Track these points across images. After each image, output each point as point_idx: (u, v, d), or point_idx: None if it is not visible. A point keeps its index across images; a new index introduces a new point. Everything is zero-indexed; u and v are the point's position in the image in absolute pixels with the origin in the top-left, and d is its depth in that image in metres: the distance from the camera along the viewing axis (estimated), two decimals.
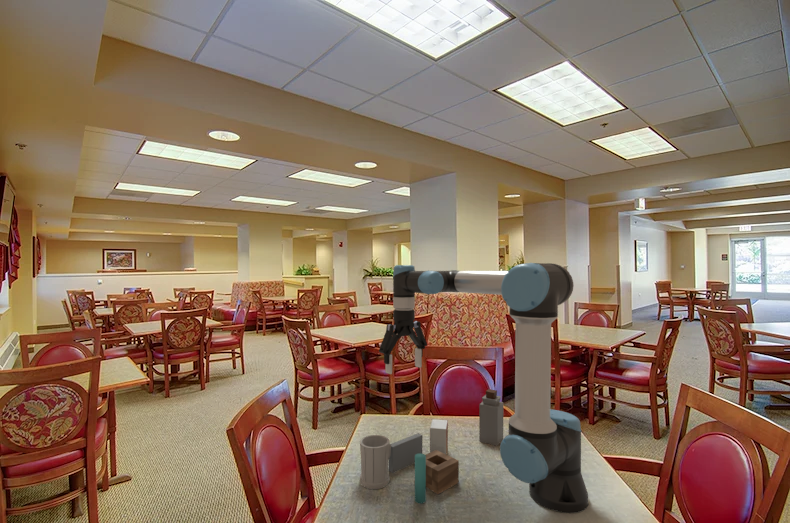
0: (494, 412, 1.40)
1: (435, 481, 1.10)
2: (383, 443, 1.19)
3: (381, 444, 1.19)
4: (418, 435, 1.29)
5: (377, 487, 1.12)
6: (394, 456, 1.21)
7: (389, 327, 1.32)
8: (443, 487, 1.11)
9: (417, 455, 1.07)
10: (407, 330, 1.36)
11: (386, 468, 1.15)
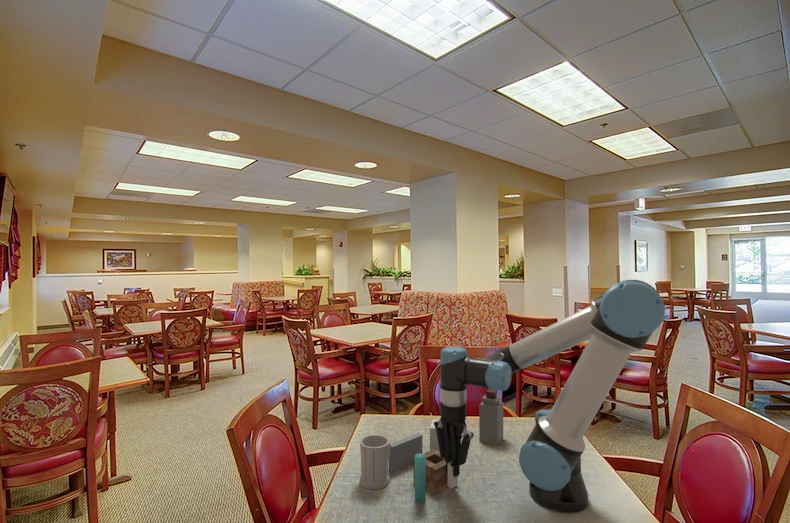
0: (494, 412, 1.40)
1: (433, 480, 1.11)
2: (383, 443, 1.19)
3: (381, 444, 1.19)
4: (418, 435, 1.29)
5: (377, 487, 1.12)
6: (394, 456, 1.21)
7: None
8: (441, 486, 1.12)
9: (417, 455, 1.07)
10: None
11: (386, 468, 1.15)
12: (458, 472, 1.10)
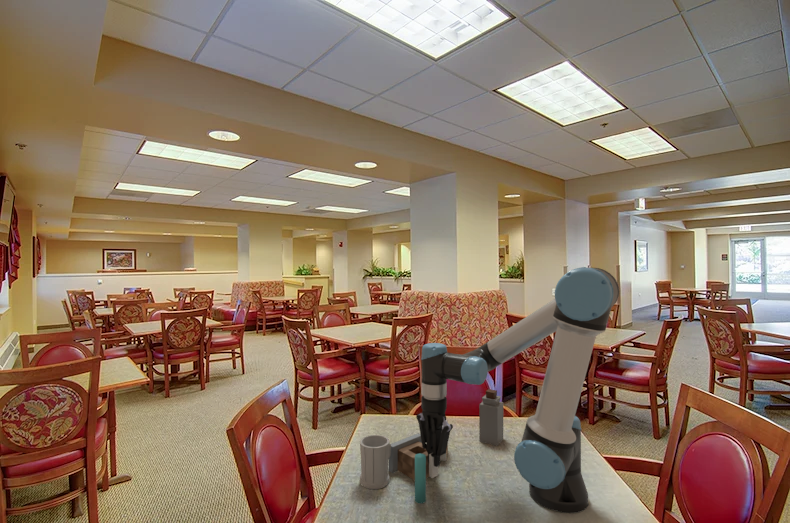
0: (494, 412, 1.40)
1: None
2: (383, 443, 1.19)
3: (381, 444, 1.19)
4: (418, 435, 1.29)
5: (377, 487, 1.12)
6: (394, 456, 1.21)
7: None
8: None
9: (417, 455, 1.07)
10: None
11: (386, 468, 1.15)
12: (438, 462, 1.16)
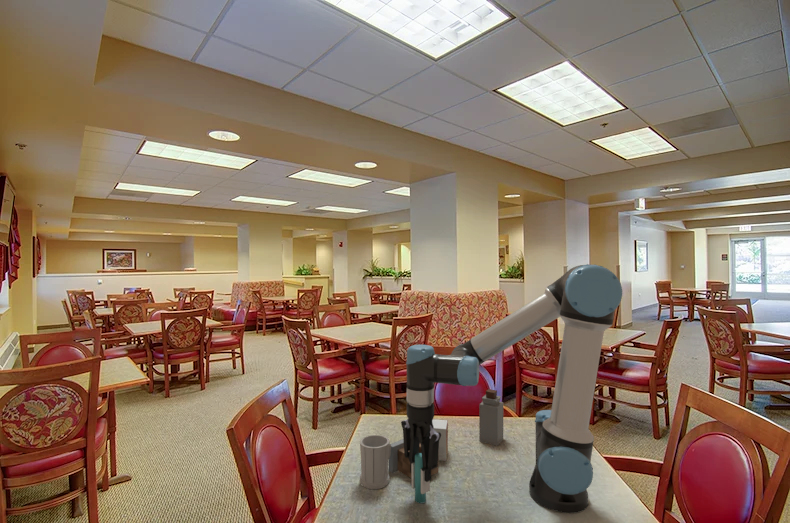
0: (494, 412, 1.40)
1: None
2: (383, 443, 1.19)
3: (381, 444, 1.19)
4: None
5: (377, 487, 1.12)
6: (394, 456, 1.21)
7: None
8: None
9: (417, 455, 1.07)
10: None
11: (386, 468, 1.15)
12: (430, 477, 1.05)
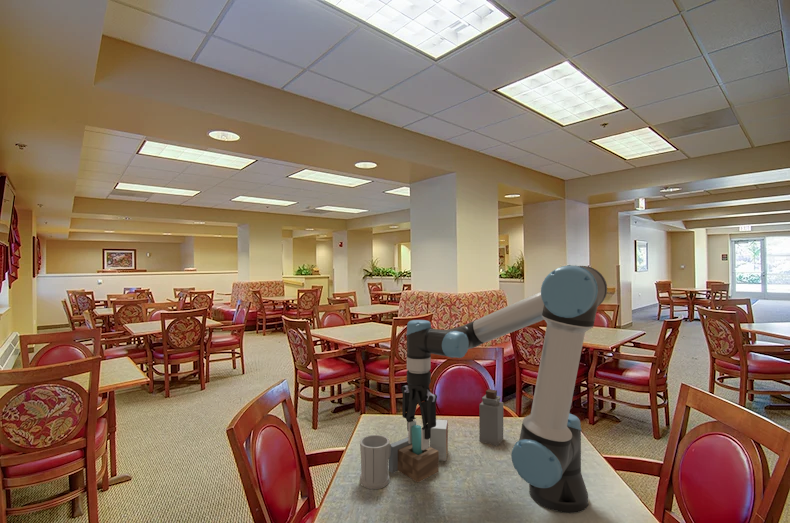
0: (494, 412, 1.40)
1: (415, 470, 1.16)
2: (383, 443, 1.19)
3: (381, 444, 1.19)
4: None
5: (377, 487, 1.12)
6: (394, 456, 1.21)
7: None
8: (423, 476, 1.17)
9: (413, 426, 1.23)
10: None
11: (386, 468, 1.15)
12: (429, 435, 1.19)
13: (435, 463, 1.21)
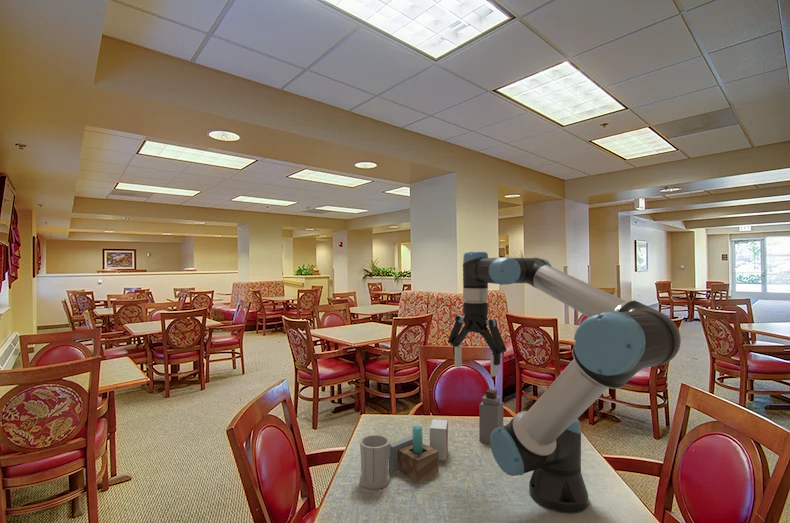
0: (494, 412, 1.40)
1: (415, 470, 1.16)
2: (383, 443, 1.19)
3: (381, 444, 1.19)
4: None
5: (377, 487, 1.12)
6: (394, 456, 1.21)
7: None
8: (423, 476, 1.17)
9: (414, 427, 1.22)
10: (474, 326, 1.19)
11: (386, 468, 1.15)
12: (499, 361, 1.14)
13: (435, 463, 1.21)
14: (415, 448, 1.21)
